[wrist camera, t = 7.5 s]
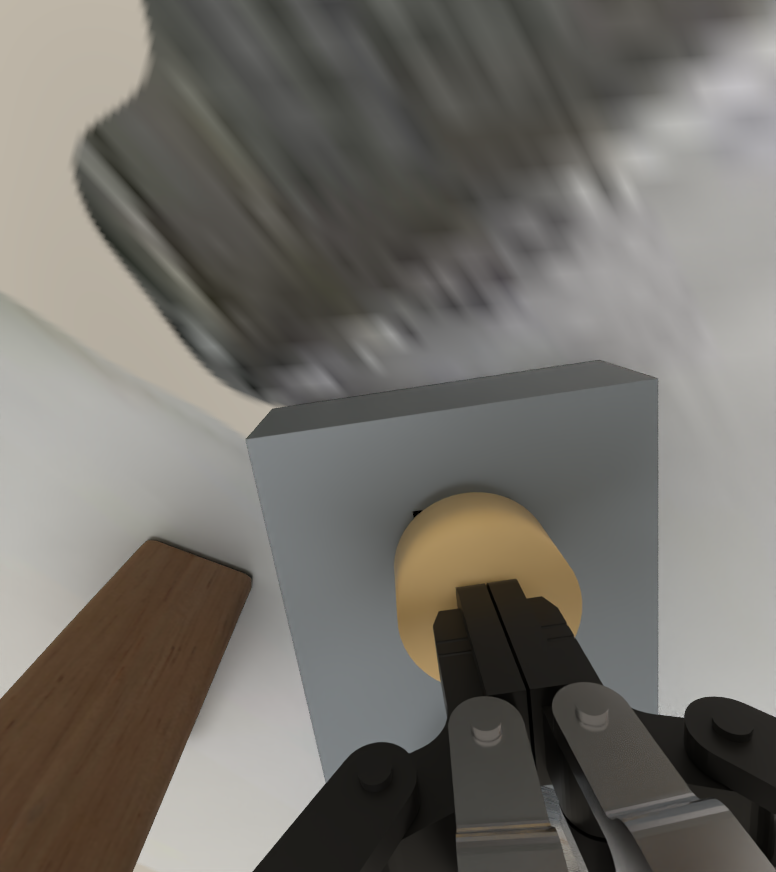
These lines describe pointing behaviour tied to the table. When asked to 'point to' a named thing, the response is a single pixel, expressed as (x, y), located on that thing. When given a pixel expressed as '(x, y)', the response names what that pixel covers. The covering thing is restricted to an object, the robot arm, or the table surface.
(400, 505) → the panel
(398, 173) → the table surface
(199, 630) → the wooden block
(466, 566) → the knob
